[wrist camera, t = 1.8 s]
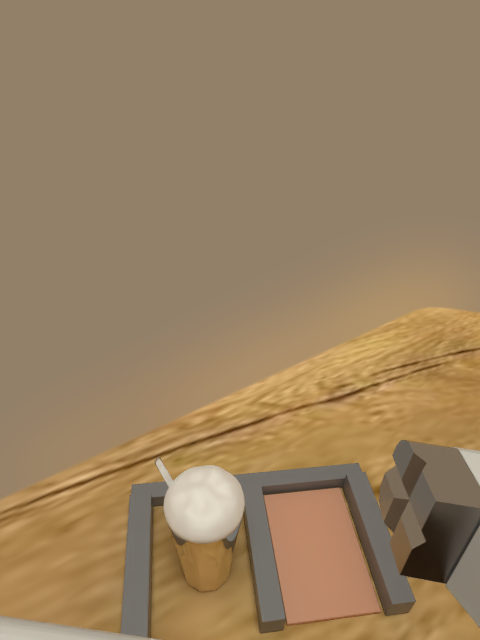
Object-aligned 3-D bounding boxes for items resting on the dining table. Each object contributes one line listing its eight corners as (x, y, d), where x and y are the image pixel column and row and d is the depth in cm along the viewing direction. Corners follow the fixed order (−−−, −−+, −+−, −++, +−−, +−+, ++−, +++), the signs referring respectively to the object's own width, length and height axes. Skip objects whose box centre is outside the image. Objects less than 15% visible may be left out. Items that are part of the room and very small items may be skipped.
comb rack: (355, 471, 37) (359, 458, 36) (408, 612, 29) (415, 601, 28) (133, 493, 35) (130, 480, 33) (124, 652, 27) (120, 641, 25)
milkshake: (186, 516, 33) (179, 429, 27) (251, 552, 31) (260, 467, 25) (148, 574, 30) (131, 491, 24) (219, 618, 28) (219, 539, 22)
